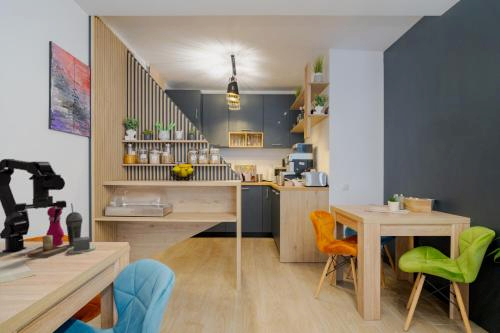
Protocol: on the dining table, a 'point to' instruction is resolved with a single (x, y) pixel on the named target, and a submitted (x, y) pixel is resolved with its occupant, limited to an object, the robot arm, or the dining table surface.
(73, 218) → the beverage cup
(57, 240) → the pepper mill
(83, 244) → the gray square block
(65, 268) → the dining table surface
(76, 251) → the mat
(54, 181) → the robot arm
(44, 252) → the post block
